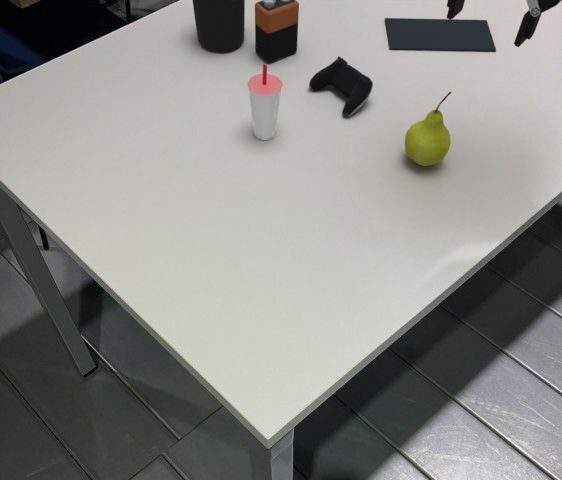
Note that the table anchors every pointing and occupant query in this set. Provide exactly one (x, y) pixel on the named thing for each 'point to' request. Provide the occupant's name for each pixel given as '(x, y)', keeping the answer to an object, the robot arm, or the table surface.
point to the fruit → (428, 139)
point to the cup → (264, 103)
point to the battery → (276, 28)
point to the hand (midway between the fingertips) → (486, 27)
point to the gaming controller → (344, 84)
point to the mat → (439, 35)
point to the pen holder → (220, 24)
